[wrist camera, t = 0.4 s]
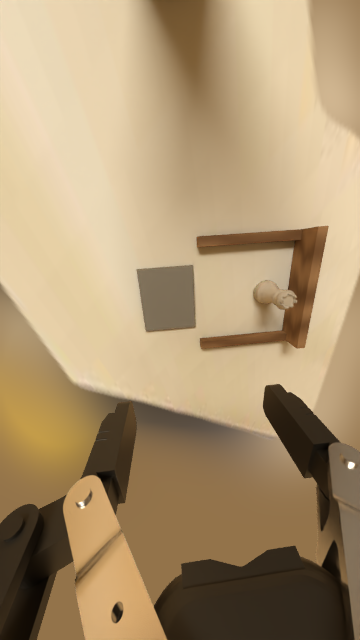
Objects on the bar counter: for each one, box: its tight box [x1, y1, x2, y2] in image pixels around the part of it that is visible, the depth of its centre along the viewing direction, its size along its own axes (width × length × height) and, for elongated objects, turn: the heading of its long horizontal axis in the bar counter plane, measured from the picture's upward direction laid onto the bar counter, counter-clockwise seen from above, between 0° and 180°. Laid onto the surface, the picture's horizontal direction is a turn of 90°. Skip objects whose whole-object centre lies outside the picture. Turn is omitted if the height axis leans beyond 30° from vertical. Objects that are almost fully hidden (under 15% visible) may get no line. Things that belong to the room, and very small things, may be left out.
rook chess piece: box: [254, 280, 297, 310], centre depth 32 cm, size 4×4×8 cm
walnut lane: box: [197, 226, 328, 349], centre depth 34 cm, size 21×20×5 cm
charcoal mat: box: [137, 265, 195, 331], centre depth 35 cm, size 12×10×1 cm
